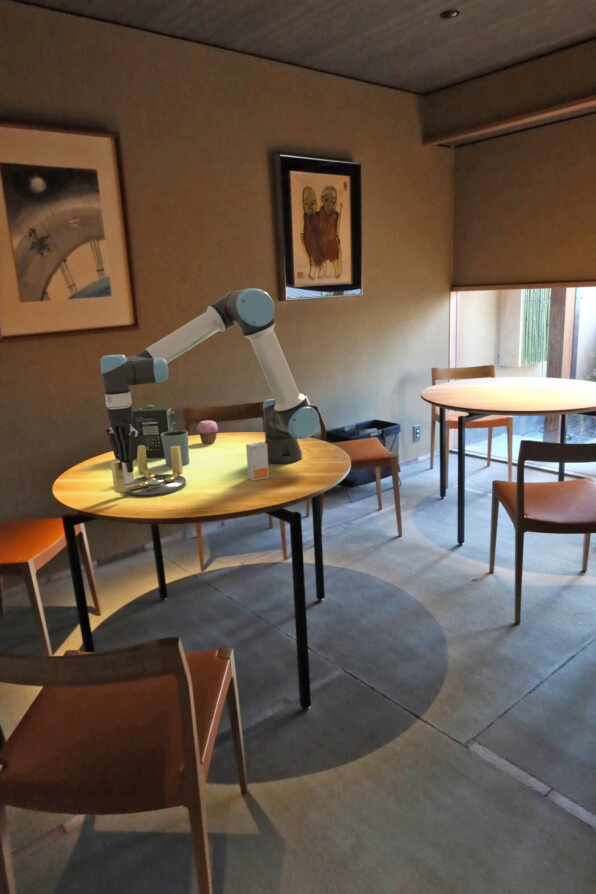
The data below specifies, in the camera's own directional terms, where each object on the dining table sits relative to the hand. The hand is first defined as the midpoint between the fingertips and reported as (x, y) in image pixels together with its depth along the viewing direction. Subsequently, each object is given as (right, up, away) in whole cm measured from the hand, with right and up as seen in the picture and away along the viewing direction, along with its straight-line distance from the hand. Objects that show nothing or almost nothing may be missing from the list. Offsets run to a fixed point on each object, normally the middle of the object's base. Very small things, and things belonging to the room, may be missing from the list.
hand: (129, 481), depth 188 cm
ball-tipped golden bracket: (-1, -3, +5) cm, 6 cm away
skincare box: (+39, 0, +17) cm, 42 cm away
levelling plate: (+5, -2, +12) cm, 14 cm away
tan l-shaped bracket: (+11, +1, +16) cm, 19 cm away
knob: (+1, +1, +20) cm, 20 cm away
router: (-5, +7, +55) cm, 56 cm away
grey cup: (+7, +4, +41) cm, 41 cm away
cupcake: (+14, +12, +72) cm, 75 cm away
